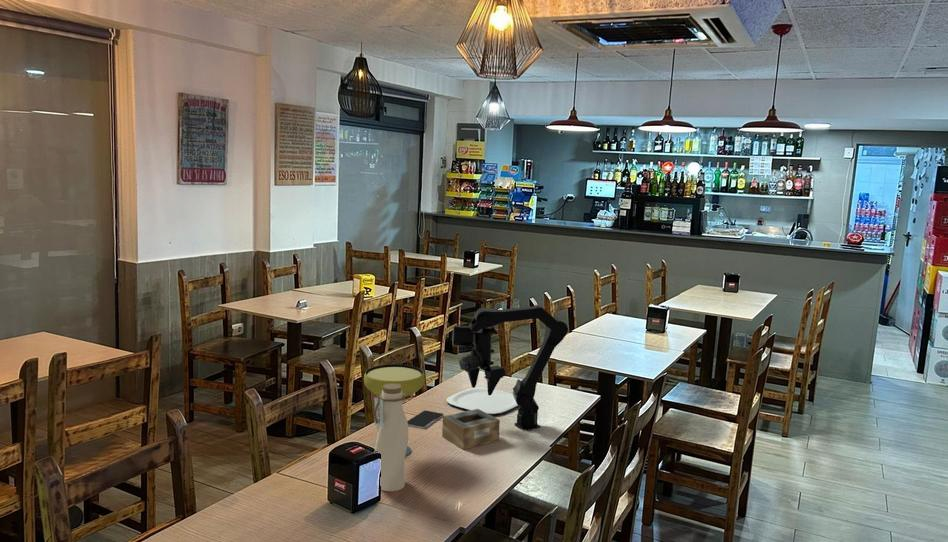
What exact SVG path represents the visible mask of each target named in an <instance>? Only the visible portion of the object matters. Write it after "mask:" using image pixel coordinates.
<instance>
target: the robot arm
mask: <svg viewBox="0 0 948 542" xmlns="http://www.w3.org/2000/svg"><path fill="white" fill-rule="evenodd" d="M536 319H538V320H539V321H540V322H542V324H544V325H545V326H546V328H545V331H544V336H543V341H542V343H541V345H540V347H539V349H538V351H537V353H536V355H535V357H534V359H533V361H532V363H531V365H530V367H529V368H528V371H527V373H526V375H525V376H524V378H523V379H522V380H521V379H519V378H518V379H517V380H516V384H515V385H514V387H513V388H512V391H513V392H512V394H513V396H514V399H515V401H516V403H517V405H518V406H517V407H519V408H518V409H517V414H516V422H515V423H514V426H516V427H518V428H520V429H522V430H524V431H530V430H535V429H539V428H540V427H541V425H540V424H538V418H539V417H538V416H539V415H538V413H539V409H540V406H539V405H538V403H537V401H536V400H535V398H534V397H535V394H536V390H537V389H536V387H537V384H538V382H539V380H540V378H541V376H542V374H543V372H544V370H545V368H546V366H547V364H548V362H549V360H550V358H551V356H552V354H553V352H554V350H555V348H557V346H558V345H559V344H561V342H562V341H563V340H564V339H565V337H566V336H567V334H568V332H569V328H568V325H567V324H566V322H565V321H563V320H562V319H561V318H559V317H554V316H553V315H552V314H550V313H549V312H547V310H546V309H545V308H544V307H543V306H542V305H534V306H525V307H514V308H507V309H506V308H505V309H499V308H492V307H480V308H478V309H477V310H476V311H475V313H474V318H473V319H472V320H471V321H470V323H469V324H468V326H467V325H464V326H463V325H453V329H452V333H451V334H452V336H451V337H452V338H451V342H452V347H470V346H471V345H472V344H473V343H474V348H471V350H470V354H467V355H465V356H462V357H461V358H460V359H458V363H459V368H460V370H462V371H465V372H466V373H467V374H468V375H467V376H468V378H469V381H470V384H471V385H470V386H471V388H476V386H477V383H478V379H479V373H480V370H483V371H484V375H485V376H484V377H483V378H484V379H485V380H486V382H487V383H486V385H487V387H486V388H488V395H491V394H492V393H493V391H494V389H496V387H497V385H498V384H499V381H500V380H501V379H503V378H504V377H506V374H507V373H506V371H507V370H506V369H505V368H504V367H503V366H500V365H494V361H493V360H492V354H493V353H495V349H493V348H492V343H493V335H498V334H499V333H498V330H497V328H495V326H497V325H500V324H502V323H507V322H508V323H509V322H516V321H517V322H518V321H525V320H526V321H527V320H536Z"/></svg>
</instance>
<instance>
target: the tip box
mask: <svg viewBox="0 0 948 542" xmlns="http://www.w3.org/2000/svg"><path fill="white" fill-rule="evenodd" d="M500 421H501V420H500V419H498V418H497V417H495V416H493V415H492V414H487V413H485V412H483V411H481V410H479V409H474V410H466V411H460V412H457V413H452V414H446V415H444V416H443V417H442V428H441V429H442V430H441V431H442V432H441V434H442V436H441V438H443V439H445V440H447V441H448V442H450V443H451V444H453V445H455V446H456V447H458V448H459V449H461V450H468V449H471V448H475V447H480V446H482V445H483V446H484V445H487V444H492V443H494V442H495V441H496V442H499V441H500V424H501V423H500ZM491 442H492V443H491ZM496 442H495V443H496Z"/></svg>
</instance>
